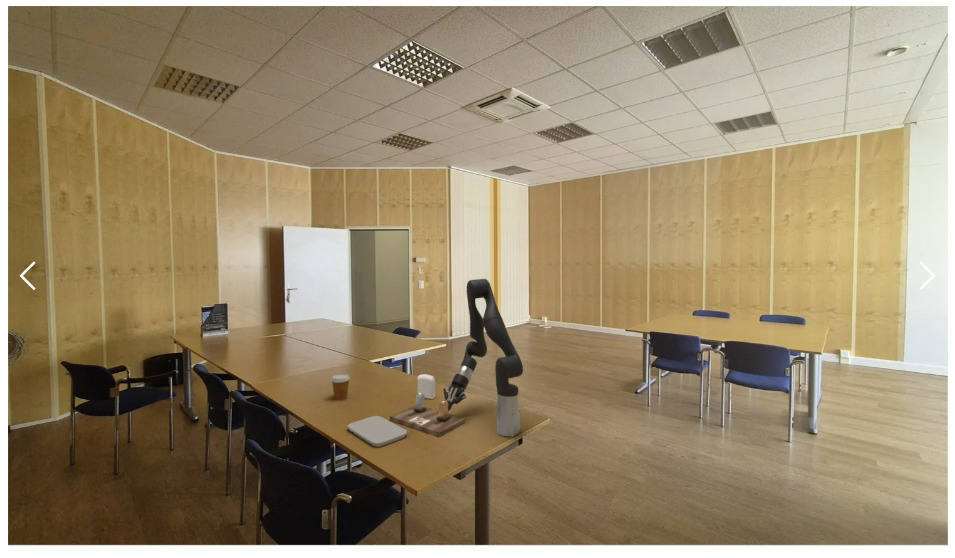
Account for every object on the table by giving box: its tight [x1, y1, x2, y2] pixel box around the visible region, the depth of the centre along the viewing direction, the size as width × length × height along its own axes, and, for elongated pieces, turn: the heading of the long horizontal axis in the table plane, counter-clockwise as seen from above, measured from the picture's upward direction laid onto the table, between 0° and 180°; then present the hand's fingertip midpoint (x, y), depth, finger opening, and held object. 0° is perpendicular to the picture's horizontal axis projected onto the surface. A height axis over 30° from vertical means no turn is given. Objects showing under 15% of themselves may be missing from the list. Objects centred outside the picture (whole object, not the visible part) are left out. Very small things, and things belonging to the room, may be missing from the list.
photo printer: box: [416, 373, 436, 400], centre depth 219 cm, size 10×4×12 cm, turn 64°
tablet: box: [347, 415, 408, 448], centre depth 176 cm, size 16×26×2 cm, turn 45°
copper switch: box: [437, 399, 450, 422], centre depth 184 cm, size 4×4×8 cm
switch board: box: [389, 404, 466, 438], centre depth 187 cm, size 30×18×2 cm, turn 55°
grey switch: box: [414, 392, 428, 412], centre depth 195 cm, size 4×4×8 cm
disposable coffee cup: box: [330, 373, 351, 401], centre depth 217 cm, size 10×10×12 cm
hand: (446, 410), depth 186 cm, fingers closed
